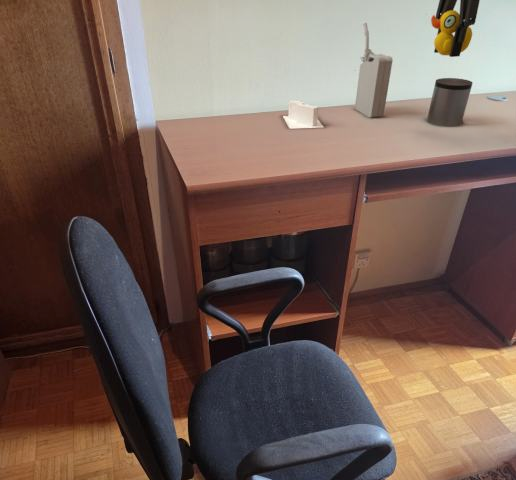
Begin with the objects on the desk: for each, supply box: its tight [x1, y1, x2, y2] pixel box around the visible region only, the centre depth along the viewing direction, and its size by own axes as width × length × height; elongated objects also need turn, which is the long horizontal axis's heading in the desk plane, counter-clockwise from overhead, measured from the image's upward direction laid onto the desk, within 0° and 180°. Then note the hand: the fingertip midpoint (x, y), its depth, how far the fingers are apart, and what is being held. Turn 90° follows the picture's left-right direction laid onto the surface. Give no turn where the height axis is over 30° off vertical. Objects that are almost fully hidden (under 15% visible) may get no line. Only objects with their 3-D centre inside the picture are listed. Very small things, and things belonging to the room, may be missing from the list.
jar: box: [426, 77, 473, 127], centre depth 145 cm, size 11×11×12 cm
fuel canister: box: [354, 22, 394, 119], centre depth 150 cm, size 15×5×25 cm, turn 16°
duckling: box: [430, 9, 473, 56], centre depth 121 cm, size 11×5×10 cm, turn 76°
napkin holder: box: [282, 99, 324, 130], centre depth 147 cm, size 15×11×6 cm
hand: (446, 54), depth 124 cm, fingers closed on duckling, 6 cm apart
